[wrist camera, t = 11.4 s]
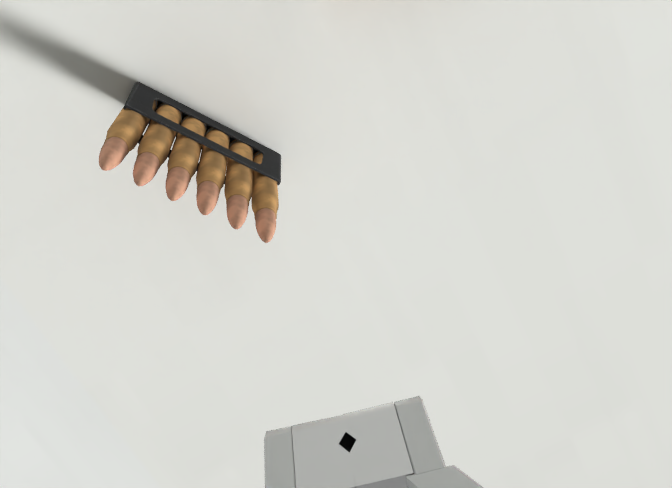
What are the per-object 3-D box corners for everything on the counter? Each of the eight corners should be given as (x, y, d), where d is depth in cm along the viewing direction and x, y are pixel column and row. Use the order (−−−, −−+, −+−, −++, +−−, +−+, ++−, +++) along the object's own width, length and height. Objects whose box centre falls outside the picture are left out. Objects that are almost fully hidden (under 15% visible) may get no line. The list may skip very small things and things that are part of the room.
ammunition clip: (125, 105, 38) (77, 175, 27) (136, 80, 37) (90, 143, 27) (269, 176, 41) (274, 261, 31) (281, 154, 41) (290, 235, 30)
